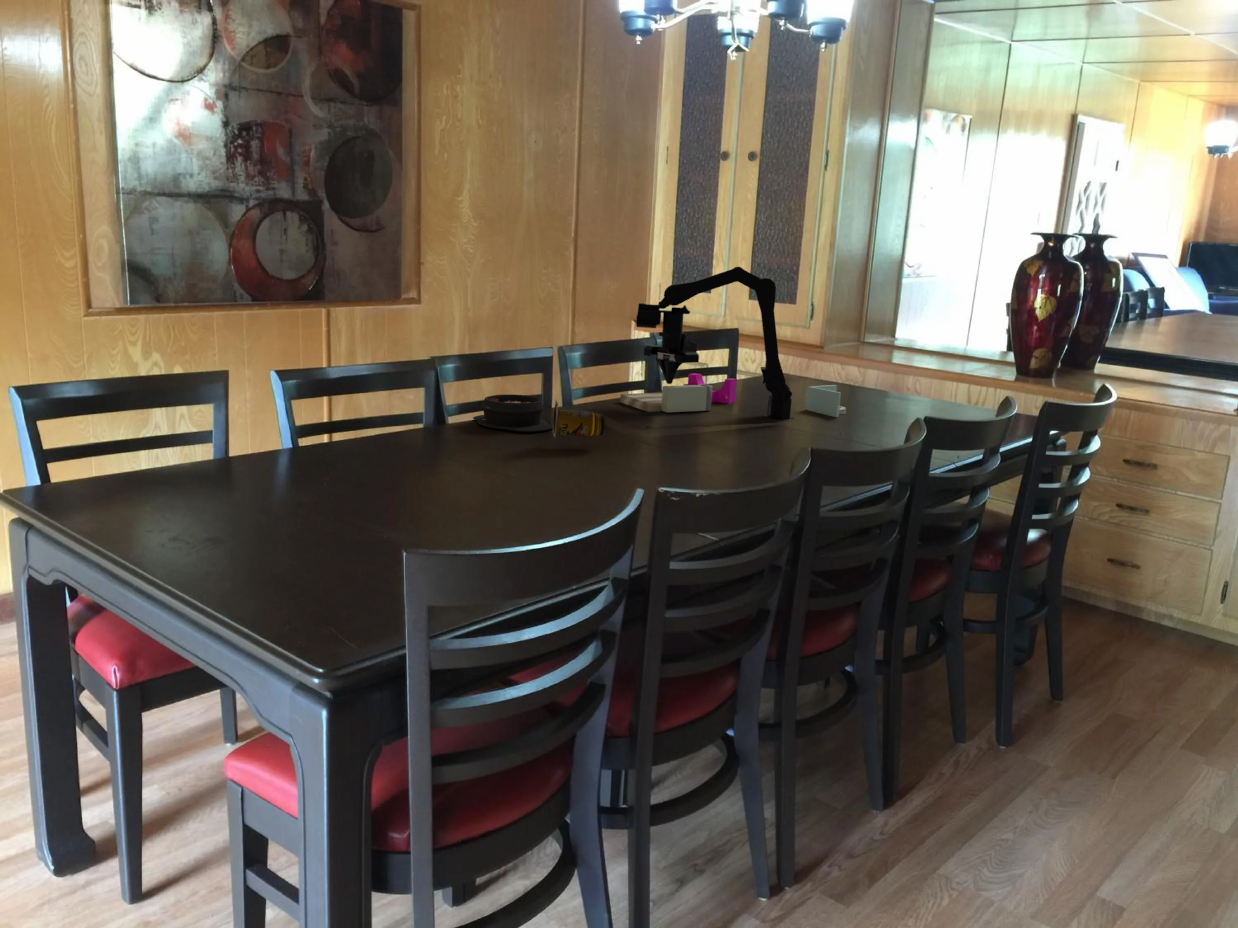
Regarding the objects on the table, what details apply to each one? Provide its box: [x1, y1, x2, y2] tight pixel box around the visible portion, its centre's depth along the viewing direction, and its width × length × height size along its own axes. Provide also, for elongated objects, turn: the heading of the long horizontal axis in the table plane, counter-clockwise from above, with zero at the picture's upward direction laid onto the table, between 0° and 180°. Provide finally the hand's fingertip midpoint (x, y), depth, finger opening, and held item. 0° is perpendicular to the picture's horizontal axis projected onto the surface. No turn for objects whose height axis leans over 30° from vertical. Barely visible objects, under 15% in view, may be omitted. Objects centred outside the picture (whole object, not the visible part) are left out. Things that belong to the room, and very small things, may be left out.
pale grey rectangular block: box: [660, 384, 713, 413], centre depth 278 cm, size 16×3×7 cm, turn 120°
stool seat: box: [619, 392, 662, 413], centre depth 286 cm, size 16×20×2 cm
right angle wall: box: [805, 384, 847, 418], centre depth 290 cm, size 12×12×8 cm
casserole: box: [472, 394, 553, 433], centre depth 258 cm, size 25×19×8 cm
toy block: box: [683, 372, 738, 405], centre depth 300 cm, size 15×6×8 cm, turn 55°
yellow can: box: [552, 400, 606, 438], centre depth 235 cm, size 7×8×12 cm
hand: (669, 383), depth 279 cm, fingers closed
